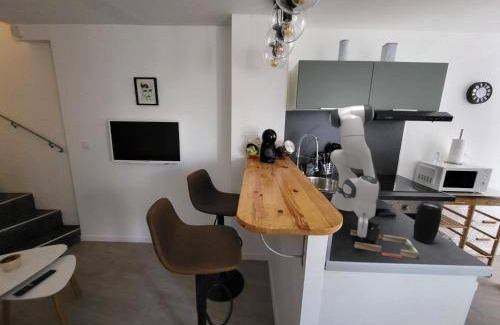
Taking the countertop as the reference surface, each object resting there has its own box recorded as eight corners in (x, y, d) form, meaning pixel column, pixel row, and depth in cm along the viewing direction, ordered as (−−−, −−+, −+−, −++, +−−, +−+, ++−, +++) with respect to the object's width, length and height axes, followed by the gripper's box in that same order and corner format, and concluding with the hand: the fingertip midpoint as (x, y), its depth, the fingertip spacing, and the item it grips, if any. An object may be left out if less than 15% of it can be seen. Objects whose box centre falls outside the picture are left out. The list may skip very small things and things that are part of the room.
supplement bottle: (362, 237, 107) (367, 216, 104) (377, 243, 103) (383, 221, 100) (359, 242, 102) (364, 220, 99) (375, 249, 98) (381, 226, 95)
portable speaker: (408, 233, 112) (415, 199, 108) (429, 236, 109) (437, 202, 105) (415, 242, 104) (423, 206, 100) (438, 246, 101) (447, 209, 97)
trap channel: (349, 230, 114) (349, 226, 114) (403, 238, 107) (404, 234, 107) (355, 250, 97) (356, 245, 97) (420, 262, 90) (422, 257, 90)
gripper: (372, 220, 90) (367, 249, 93) (371, 204, 107) (367, 228, 110) (356, 217, 93) (352, 244, 96) (357, 201, 110) (354, 225, 113)
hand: (360, 235), depth 103 cm, fingers closed
